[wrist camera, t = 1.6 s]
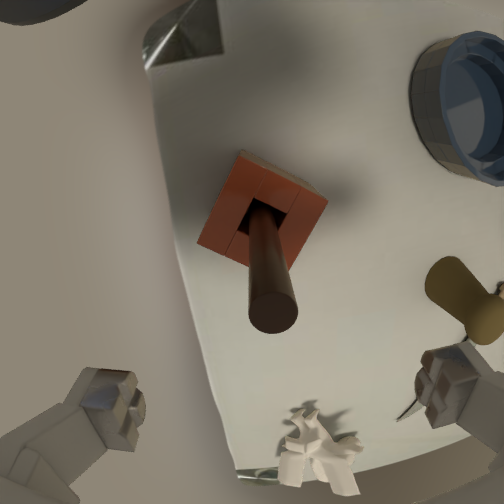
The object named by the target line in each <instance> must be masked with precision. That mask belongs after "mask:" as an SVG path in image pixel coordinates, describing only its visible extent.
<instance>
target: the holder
mask: <svg viewBox="0 0 504 504" xmlns="http://www.w3.org/2000/svg"><path fill="white" fill-rule="evenodd" d="M253 198H256V199H258V200H260V201H262V202H264V203H266V204H268V205H270V206H271V208H272V212H273V216H274V219H275V223H276V227H277V230H278V234H279V238H280V241H281V245H282V249H283V253H284V256H285V260H286V264H287V268H288V271H289V270H290V268H291V266H292V264H293V263H294V261H295V259H296V258H297V256H298V254H299V252H300V251H301V249H302V247H303V245H304V244H305V242H306V240H307V239H308V237H309V235H310V233H311V232H312V230H313V228H314V226H315V225H316V223H317V221H318V219H319V217H320V216H321V214H322V212H323V210H324V209H325V207H326V205H327V203H328V200H327V199H326V198H325V197H324V196H323V195H321V194H320V193H319V192H318V191H317V190H316V189H315V188H314V187H313V186H312V185H311V184H309V183H308V182H306V181H304V180H302V179H301V178H299V177H297V176H295V175H293V174H291V173H288V172H287V171H285V170H283V169H281V168H279V167H277V166H275V165H273V164H271V163H269V162H267V161H265V160H263V159H261V158H259V157H257V156H255V155H253V154H251V153H249V152H247V151H245V150H243V149H242V150H241V151H240V153H239V155H238V157H237V159H236V161H235V163H234V165H233V167H232V169H231V171H230V173H229V175H228V178H227V180H226V182H225V184H224V186H223V188H222V190H221V192H220V194H219V196H218V198H217V200H216V202H215V204H214V207H213V209H212V211H211V213H210V215H209V217H208V219H207V222H206V224H205V226H204V228H203V230H202V232H201V235H200V237H199V239H198V241H197V244H199V245H201V246H203V247H206V248H208V249H210V250H212V251H214V252H217V253H219V254H221V255H223V256H224V255H225V257H228V258H230V259H232V260H234V261H236V262H239V263H241V264H243V265H245V266H248V267H249V209H248V207H249V205H250V204H251V202H252V200H253Z"/></svg>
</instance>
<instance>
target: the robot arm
mask: <svg viewBox="0 0 504 504" xmlns="http://www.w3.org/2000/svg"><path fill="white" fill-rule="evenodd" d="M420 362H421V364H422V366H423V367H422V368H421V369H420V371H419V372H418V373H417V375H416V378H415V393H416V397H417V399H418V401H419V403H421V404H422V405H424V406H426V411H425V415H426V417H427V419H428V421H429V423H430V425H431V427H432V429H435V428H439V427H442V426H446V425H449V424H452V423H456V422H457V423H456V424H457V425H459V426H460V427H462V428H463V429H464V430H466V431H467V432H469V433H470V434H471V435H473V436H474V437H476V438H477V439H478V440H480V441H481V442H483V443H484V444H485V445H487V446H488V447H490V448H491V449H492V450H494V451H495V452H497V454H496V456H495V457H494V458H493V460H492V461H491V462H490V464H489V466H488V468H489V470H490V473H488V474H486V475H484V476H482V477H480V478H477V479H475V480H473V481H471V482H468V483H466V484H464V485H461V486H459V487H457V488H454V489H451V490H449V491H446V492H444V493H441V494H439V495H436V496H433V497H430V498H427V499H424V500H421V501H418V502H415V503H412V504H504V373H501V372H499V371H497V372H494V371H493V369H492V368H491V367H490V366H489V365H488V363H487V362H486V361H485V360H484V358H483V357H482V356H481V355H480V354H479V352H478V351H477V350H476V349H475V348H474V347H473V345H472V344H471V343H470V342H467V341H465V342H461V343H457V344H453V345H450V346H446V347H441V348H437V349H432V350H427V351H425V352H424V354H423V355H422V358H421V361H420ZM137 384H138V380H137V378H136V375H135V373H134V372H131V371H122V370H111V369H98V368H90V367H86V368H85V369H83V370H82V372H81V373H80V375H79V377H78V378H77V380H76V382H75V383H74V385H73V387H72V388H71V390H70V392H69V394H68V395H67V397H66V399H65V401H64V402H63V404H62V403H58V404H56V405H54V406H53V407H51V408H49V409H48V410H46V411H44V412H43V413H41V414H39V415H38V416H36V417H34V418H33V419H31V420H29V421H28V422H26V423H24V424H23V425H21V426H19V427H17V428H16V429H14V430H12V431H11V432H9V433H7V434H5V435H4V436H2V437H1V438H0V504H79V503H80V499H79V497H78V496H77V495H76V494H75V493H74V492H73V491H72V490H71V489H70V488H69V485H70V484H71V483H72V482H74V481H75V480H76V479H77V478H78V477H79V476H80V475H81V474H82V473H84V472H85V471H86V470H87V469H88V468H89V467H90V466H91V465H92V464H93V463H94V462H96V460H98V459H99V458H100V457H101V456H102V455H103V454H104V453H105V452H106V451H107V449H114V450H121V451H129V452H134V451H135V448H136V444H137V441H138V438H139V432H138V430H137V427H139V426H140V425H141V424H143V422H144V419H145V412H146V404H145V399H144V396H143V393H142V392H141V391H140V390H138V389H137V388H136V386H137Z"/></svg>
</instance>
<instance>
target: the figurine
mask: <svg viewBox="0 0 504 504" xmlns="http://www.w3.org/2000/svg"><path fill="white" fill-rule="evenodd" d="M304 410H305V409H300V410H298V411H297V412H296V413H295V414H294V415H293V416H292V417H291V418H290V420H291V421H292V422H293V423H295V424H296V425H297V426H298V427H299V429H300V437H299V438H298V439H295V438H292V437H288V436H285V443H284V444H283V445H282V446H281V447H285V448H286V449H288V451H285V452H281V455H280V457H281V458H280V463H279V471H278V479H277V480H279V481H280V482H281V483H283V484H285V485H288V486H295V487H301V484H302V477H303V473H304V466H305V460H306V459H307V458H310V464H311V467H312V469H313V471H314V473H315V476H316V477H317V478H318V480H320V481H323V482H330V485H331V489H332V491H333V493H334V494H339V495H343V496H352V495H357V494H360V493H359V490H358V487H357V484H356V482H355V478H354V476H353V474H352V471H351V469H350V467H349V466H350V465H351V464H352V463H353V462H354V457H355V455H356V454H360V453H361V452H362V451H363V449H364V446H363V447H362V446H360V444H361V442H360V440H359V439H358V438H356V437H344V438H342V439H341V440H339V441H338V443H337V442H334V441H333V440H332V438H331V436H330V435H329V433H328V432H327V431H326V430H325V428H324V427H323V426H322V425H321V424H320V422H319V421H318V420H317V414H318V412H319V410H320V409H316V410H314V411H313V412H312V413H311V414H310V415H308V416H307V417H306V418H303V417H302V414H303V412H304Z"/></svg>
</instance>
